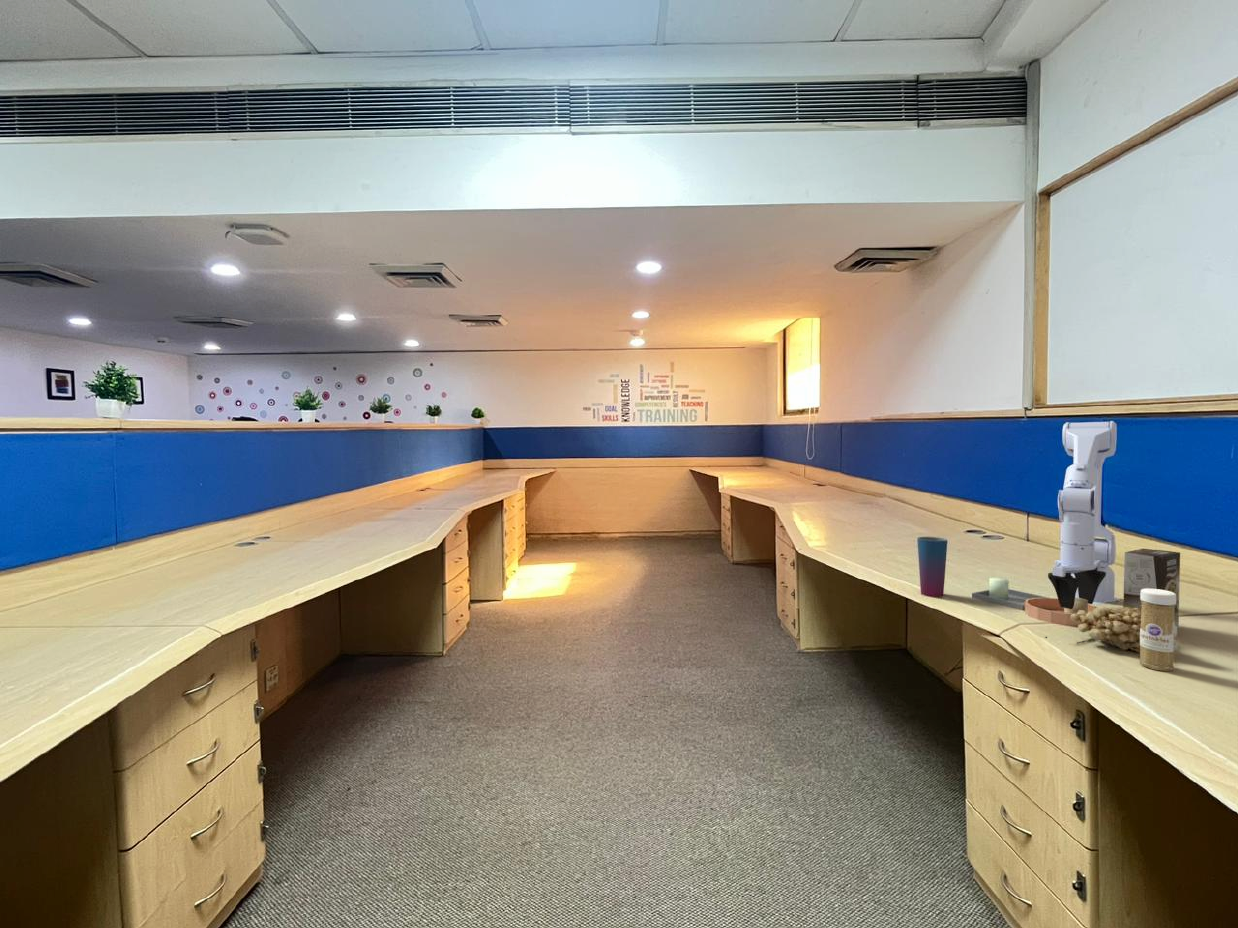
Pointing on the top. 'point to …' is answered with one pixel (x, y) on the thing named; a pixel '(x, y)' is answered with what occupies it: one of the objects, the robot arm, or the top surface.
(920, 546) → the cup
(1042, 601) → the bowl
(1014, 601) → the tray
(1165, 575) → the coffee box
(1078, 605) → the beige rounded cylinder
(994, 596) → the mint green rounded cylinder
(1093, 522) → the robot arm
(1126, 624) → the mineral formation
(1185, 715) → the top surface
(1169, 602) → the sprinkles bottle
